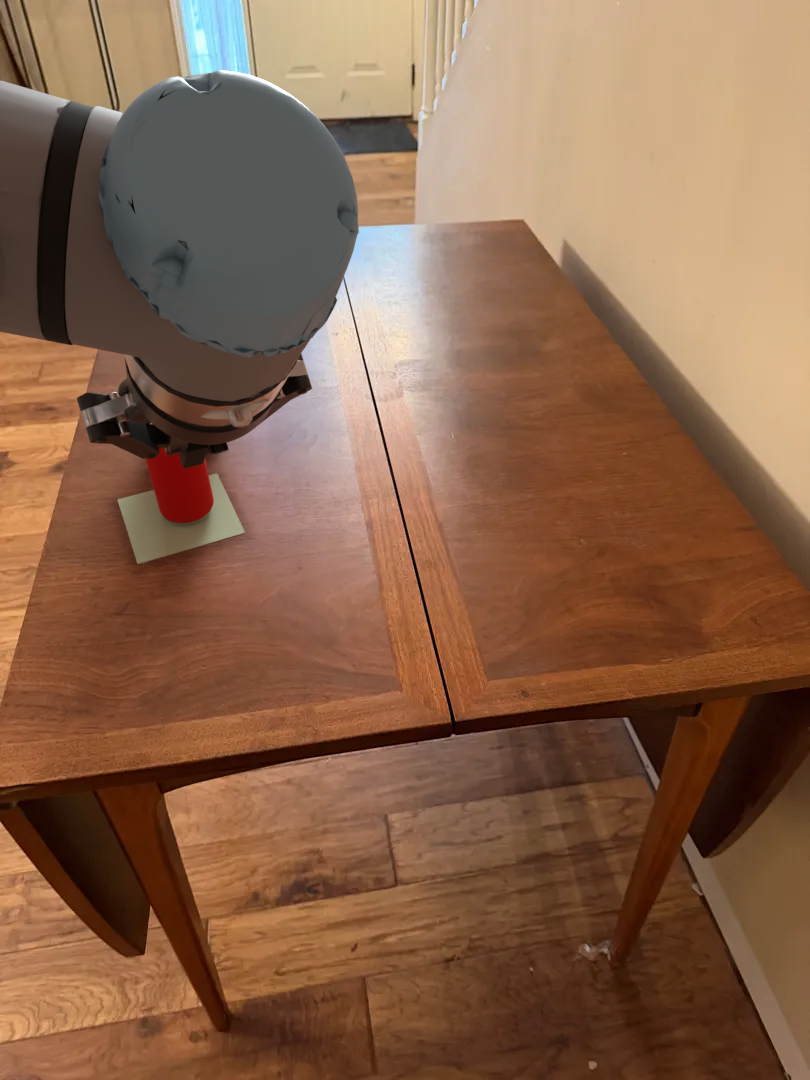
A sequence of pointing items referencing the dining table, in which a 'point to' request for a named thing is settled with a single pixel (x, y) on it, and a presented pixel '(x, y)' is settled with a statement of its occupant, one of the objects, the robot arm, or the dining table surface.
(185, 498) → the beverage can
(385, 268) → the dining table surface
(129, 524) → the felt mat
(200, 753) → the dining table surface
